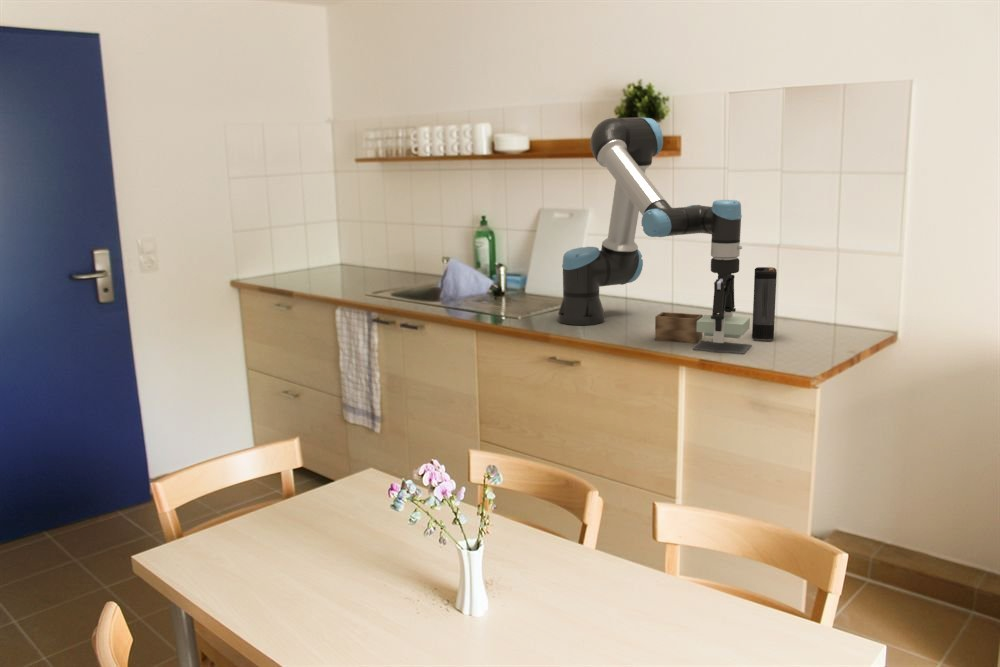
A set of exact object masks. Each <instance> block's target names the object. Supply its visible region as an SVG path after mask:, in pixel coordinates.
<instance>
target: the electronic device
mask: <svg viewBox="0 0 1000 667" xmlns="http://www.w3.org/2000/svg"><path fill="white" fill-rule="evenodd" d="M777 273H778V272H777V269H776V268H775V267H770V266H769V267H768V266H766V267H764V266H762V267H761V266H760V267H759V266H758V267H755V268H754V275H753V276H754V279H753V280H754V281H753V282H754V284H753V302H752V303H753V307H752V308H753V309H752V330H751V331H752V332H751V339H752V340H753V341H755V342H772V341H773V340H774V339H775V318H776V316H775V315H776V298H777Z"/></svg>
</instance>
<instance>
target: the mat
mask: <svg viewBox="0 0 1000 667" xmlns="http://www.w3.org/2000/svg"><path fill="white" fill-rule="evenodd" d="M752 346H753V345H752V344H749V343H739V342H738V343H736V342H727V341H726V342H725V341H724V343H717V342H713V340H712V341H711V340H700V341H699V342H697V343H696V344H695V346H694V347H692V351H701V352H713V353H723V354H725V353H726V354H736V355H745V354H746V353H748V351H749V350H750V349H751V347H752Z"/></svg>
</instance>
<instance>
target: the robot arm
mask: <svg viewBox="0 0 1000 667" xmlns="http://www.w3.org/2000/svg"><path fill="white" fill-rule="evenodd" d="M663 145H664V135H663V132H662V129H661V127H660V124H659V123H658V122H657V121H656V120H655V119H653V118H650V117H641V116H635V117H610V118H609V117H608V118H606V119H604V120H602V121H601V122H599V123H598V124H597V126H595V128H594V129H593V131H592V134H591V137H590V149H591V152H592V155H593V157H594V159H595V160H596V162H597V163H598V164H599V166H601V167H603V168H606V169H607V171H608V172H609V173H610V175H611V176H612V177H613V179H614V181H615V185H614V191H613V193H614V194H613V199H612V205H611V212H610V213H611V214H610V219H609V227H608V233H607V238H605V239H604V240H602V243H601V247H600V248H601V250H600V249H599V247H596V246H585V247H583V246H582V247H576V248H573V249H570V250H567V251H566V252H565V253H564V254H563V256H562V265H561V267H562V293H563V294H562V300H561V304H560V306H559V310H558V313H557V321H558V322H559V323H561V324H564V325H569V326H570V325H571V326H590V325H591V326H592V325H597V324H602V323H604V322H605V320H606V317H605V314H606V313H605V309H604V307H603V304H602V301H601V298H600V287H601V288H602V287H608V286H616V285H617V286H618V285H626V284H630V283H631V284H632V283H633V282H635V281H636V280H637V279H638V278H640V275H641V273H642V271H643V266H644V260H643V259H642V258H643V255H642V252H641V251H640V249H639V246H638V244H637V243H636V241H635V239H636V232H637V225H638V219H639V213H640V215H642V217H641V226H642V231H643V233H644V234H645V235H646V236H648V237H651V238H664V237H665V238H666V237H673V236H674V237H675V236H679V235H680V236H682V235H684V236H685V235H691V234H693V235H695V234H709V235H711V244H710V245H711V246H710V256H711V257H712V258H711V259H710V272H711V273H714V274H717V279H715V281H714V283H713V285H714V286H713V288H714V290H713V291H714V292H713V301H712V302H713V303H712V304H713V305H712V312H711V313H712V316H711V319H714V337H713V340H712V341H713V342H717V343H724V342H725V337H724V326H725V319H724V316H729V317H733V313H734V312H736V311H737V310H736V309H737V308H736V307H735V306H736V305H735V274H736V273H739V272H740V258H738V257H740V251H741V250H742V249H743V247H742V245H741V229H742V228H741V226H742V217H743V215H742V204H741V202H740V200H736V199H717V200H714V201H713V202H712V205H711V206H709V205H708V206H707V205H706V206H705V205H701V204H691V205H690V204H689V205H687V206H683V207H672V206H671V205H670V204H669V203H668V202H667V201H666V199H665V198H664V196H663V195H662V194H661V192H660V190H658V189H657V188H656V186H655V184H653V182H652V181H651V180H650V178H649V177H648V176H647V174H646V169H647V168H649V167H650V166H651V165H652V162H653V157H656V156H658V155H659V154H660V152H662V150H663V149H662V148H663Z"/></svg>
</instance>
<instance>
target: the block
mask: <svg viewBox="0 0 1000 667" xmlns="http://www.w3.org/2000/svg"><path fill="white" fill-rule="evenodd" d="M711 316H712V315H711V314H704V315H703V317H702V318H700V319H699V320H698V321H697V332H702V333H703V336H704V337H713V338H714V319H711ZM724 319H725V326H724V338H728V339H739V338H741V336H744V335H745V334H746V333H747V331H748V330H750V326H751V324H750V322H751V318H750V317H742V316H741V317H740V316H732V317H729V316H724Z"/></svg>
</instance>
